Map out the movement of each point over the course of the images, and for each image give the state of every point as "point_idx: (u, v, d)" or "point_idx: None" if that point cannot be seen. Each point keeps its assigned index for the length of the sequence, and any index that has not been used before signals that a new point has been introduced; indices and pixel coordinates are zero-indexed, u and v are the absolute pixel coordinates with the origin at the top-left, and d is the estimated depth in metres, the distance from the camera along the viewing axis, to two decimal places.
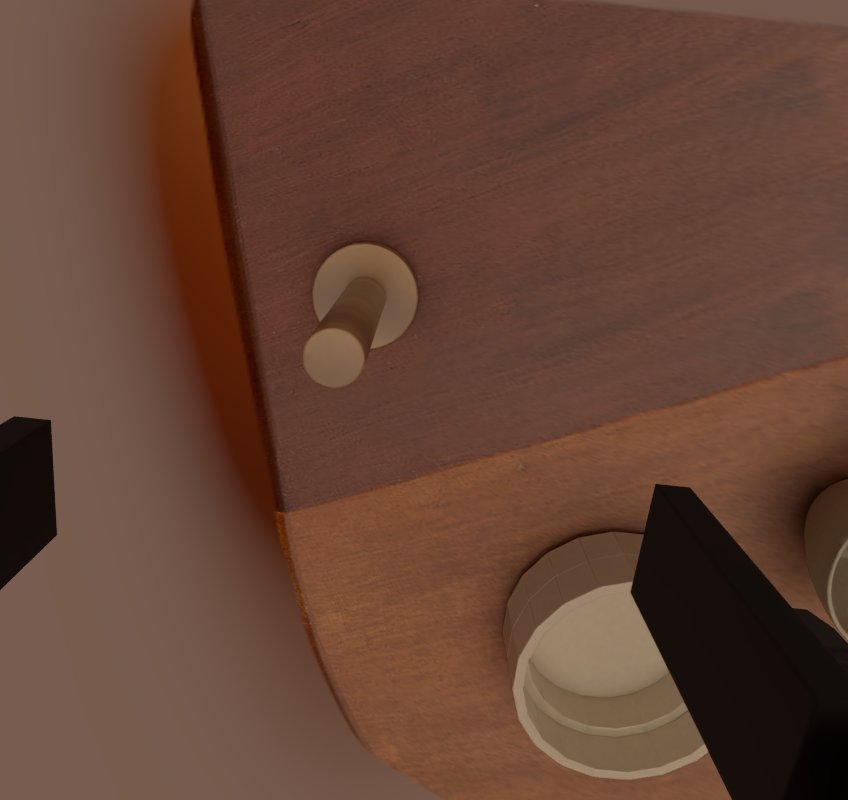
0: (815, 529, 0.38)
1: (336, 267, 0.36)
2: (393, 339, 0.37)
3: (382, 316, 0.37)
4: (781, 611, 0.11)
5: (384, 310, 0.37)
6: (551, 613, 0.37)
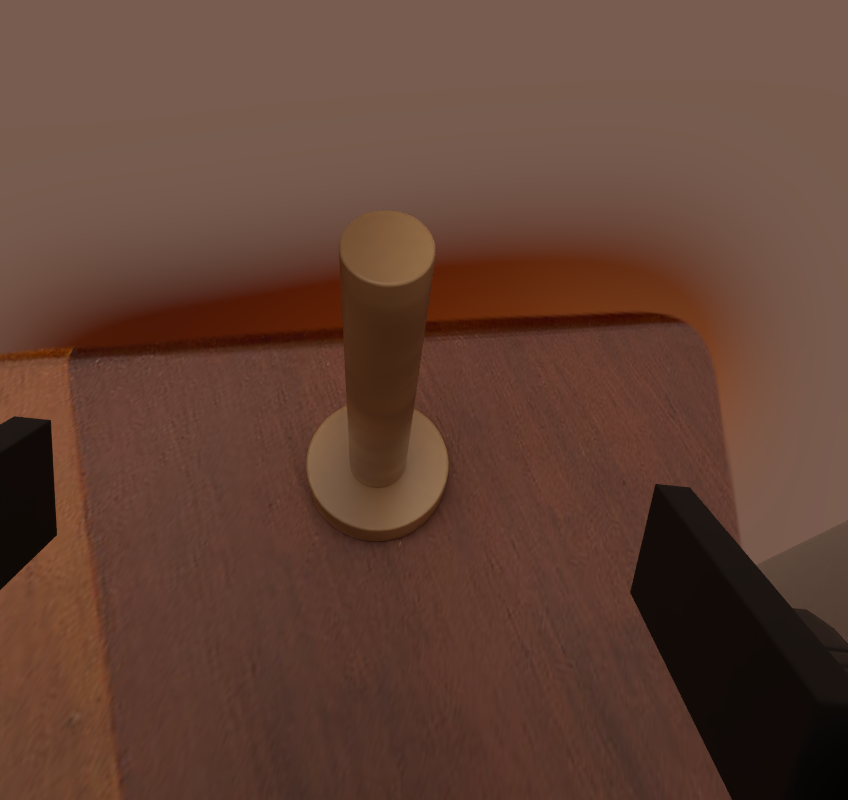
0: None
1: (417, 428, 0.28)
2: (318, 497, 0.27)
3: (351, 483, 0.27)
4: (781, 611, 0.11)
5: (360, 486, 0.27)
6: None
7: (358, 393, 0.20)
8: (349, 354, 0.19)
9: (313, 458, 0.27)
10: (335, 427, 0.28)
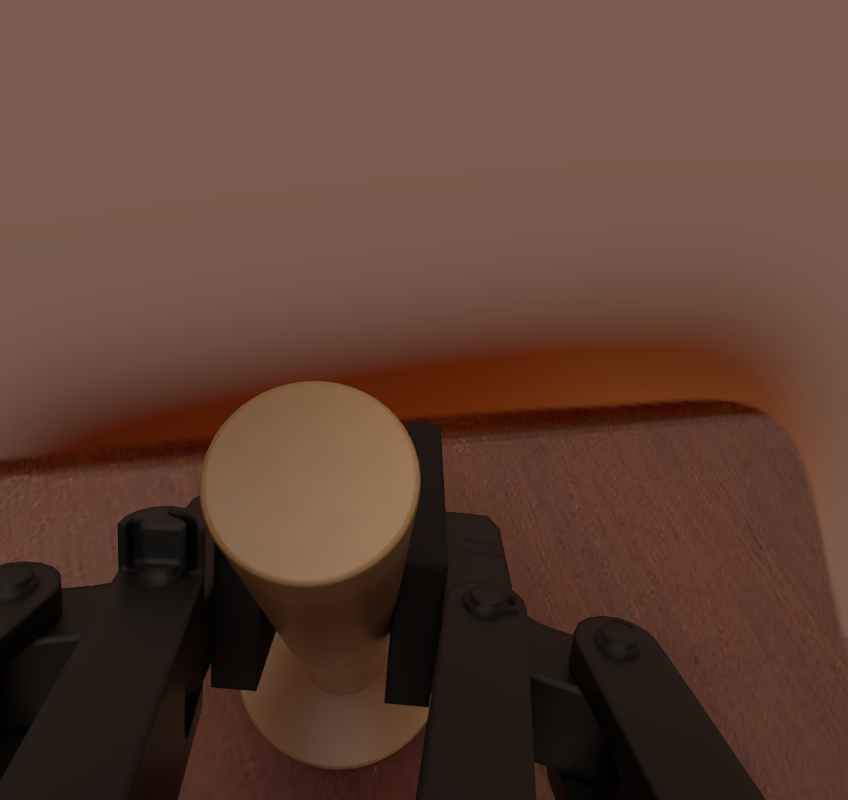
0: None
1: None
2: (253, 714, 0.18)
3: (304, 688, 0.18)
4: (432, 507, 0.13)
5: (316, 692, 0.18)
6: None
7: (289, 646, 0.12)
8: None
9: None
10: None
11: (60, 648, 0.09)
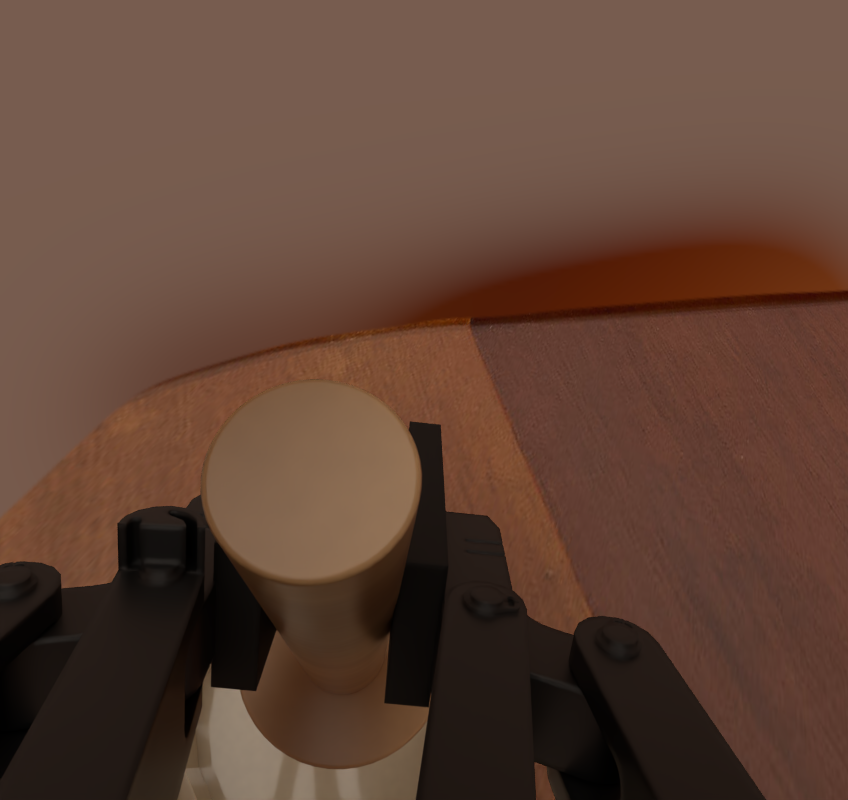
0: None
1: None
2: (253, 713, 0.18)
3: (304, 688, 0.18)
4: (432, 507, 0.13)
5: (316, 692, 0.18)
6: None
7: (290, 645, 0.11)
8: None
9: None
10: None
11: (60, 648, 0.09)
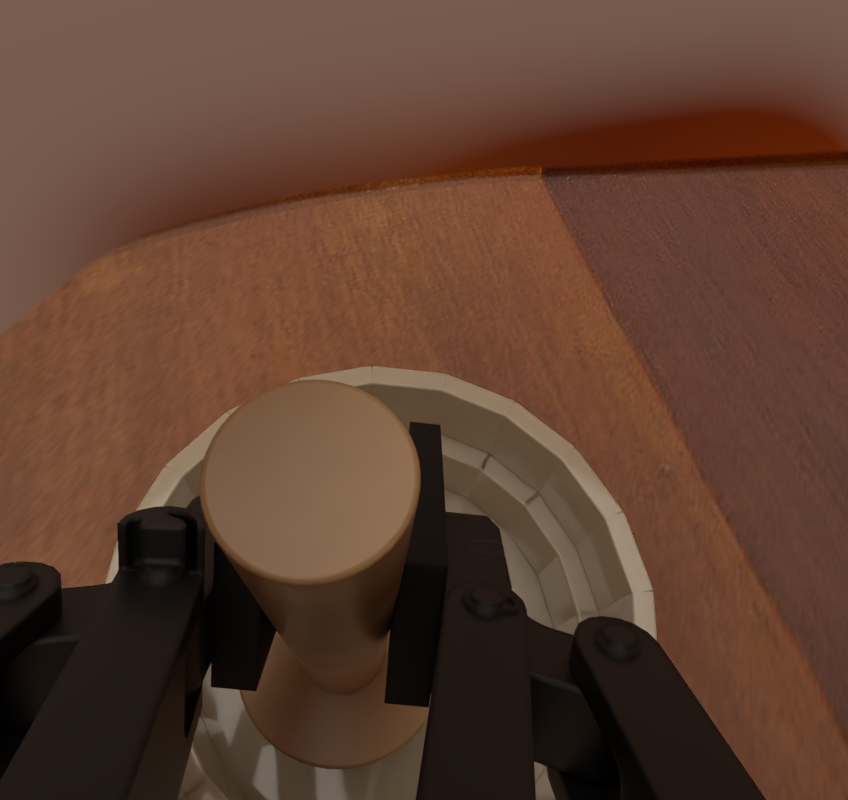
0: None
1: None
2: (252, 713, 0.18)
3: (303, 687, 0.18)
4: (432, 507, 0.13)
5: (316, 692, 0.18)
6: (549, 428, 0.19)
7: (290, 645, 0.11)
8: None
9: None
10: None
11: (60, 648, 0.09)
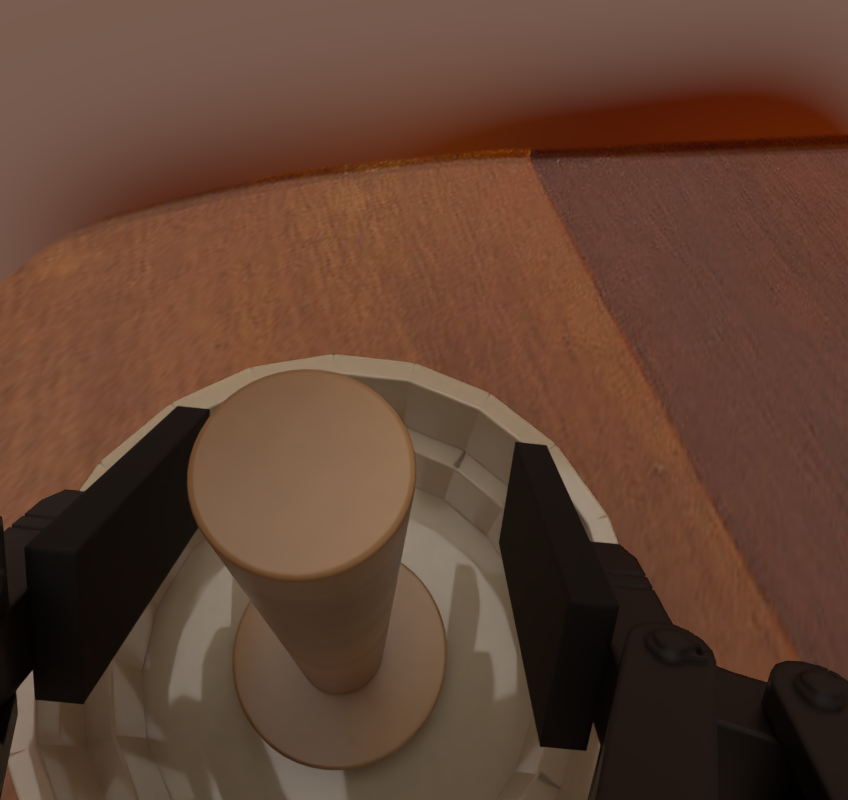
0: None
1: (400, 592, 0.19)
2: (249, 713, 0.17)
3: (300, 687, 0.18)
4: (576, 538, 0.12)
5: (313, 692, 0.18)
6: (527, 423, 0.17)
7: (285, 644, 0.11)
8: None
9: (243, 647, 0.18)
10: None
11: None
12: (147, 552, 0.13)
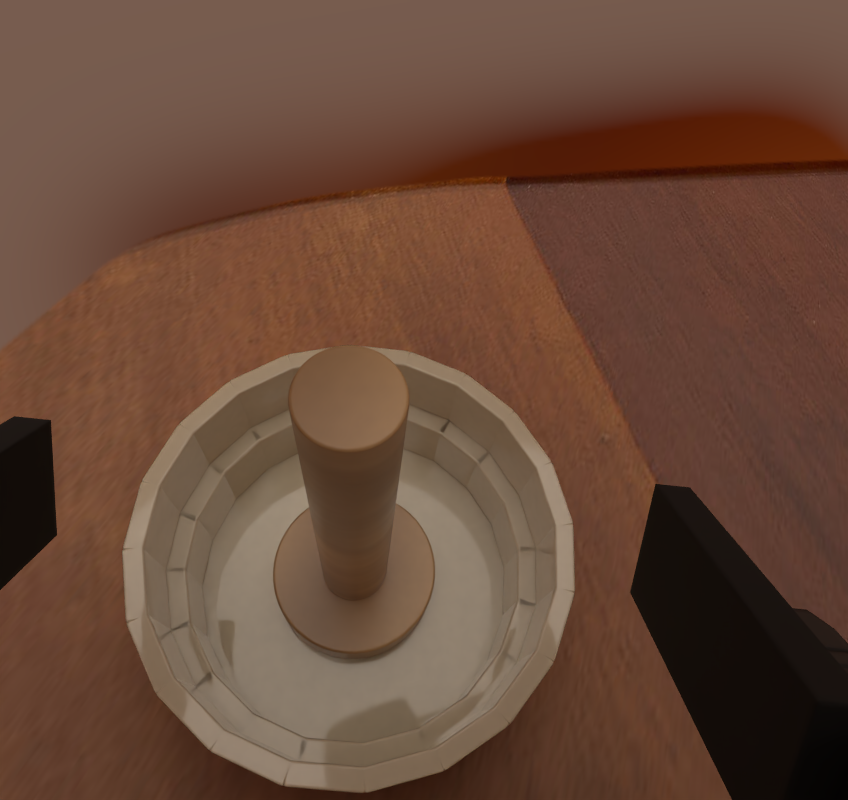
0: None
1: (399, 527, 0.25)
2: (286, 613, 0.23)
3: (325, 595, 0.24)
4: (782, 611, 0.11)
5: (334, 598, 0.24)
6: None
7: (324, 532, 0.17)
8: (310, 497, 0.16)
9: (281, 566, 0.24)
10: (306, 528, 0.25)
11: None
12: None
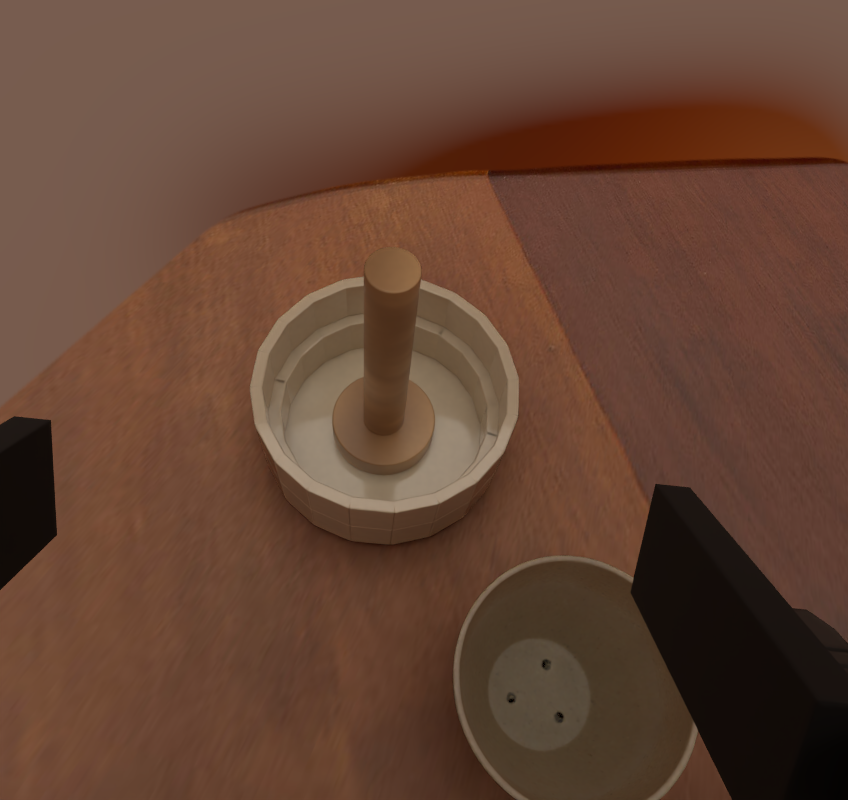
0: None
1: (412, 394, 0.39)
2: (341, 442, 0.37)
3: (365, 432, 0.37)
4: (781, 611, 0.11)
5: (371, 434, 0.37)
6: (472, 306, 0.37)
7: (373, 363, 0.31)
8: (367, 336, 0.29)
9: (337, 415, 0.38)
10: (352, 393, 0.38)
11: None
12: None
